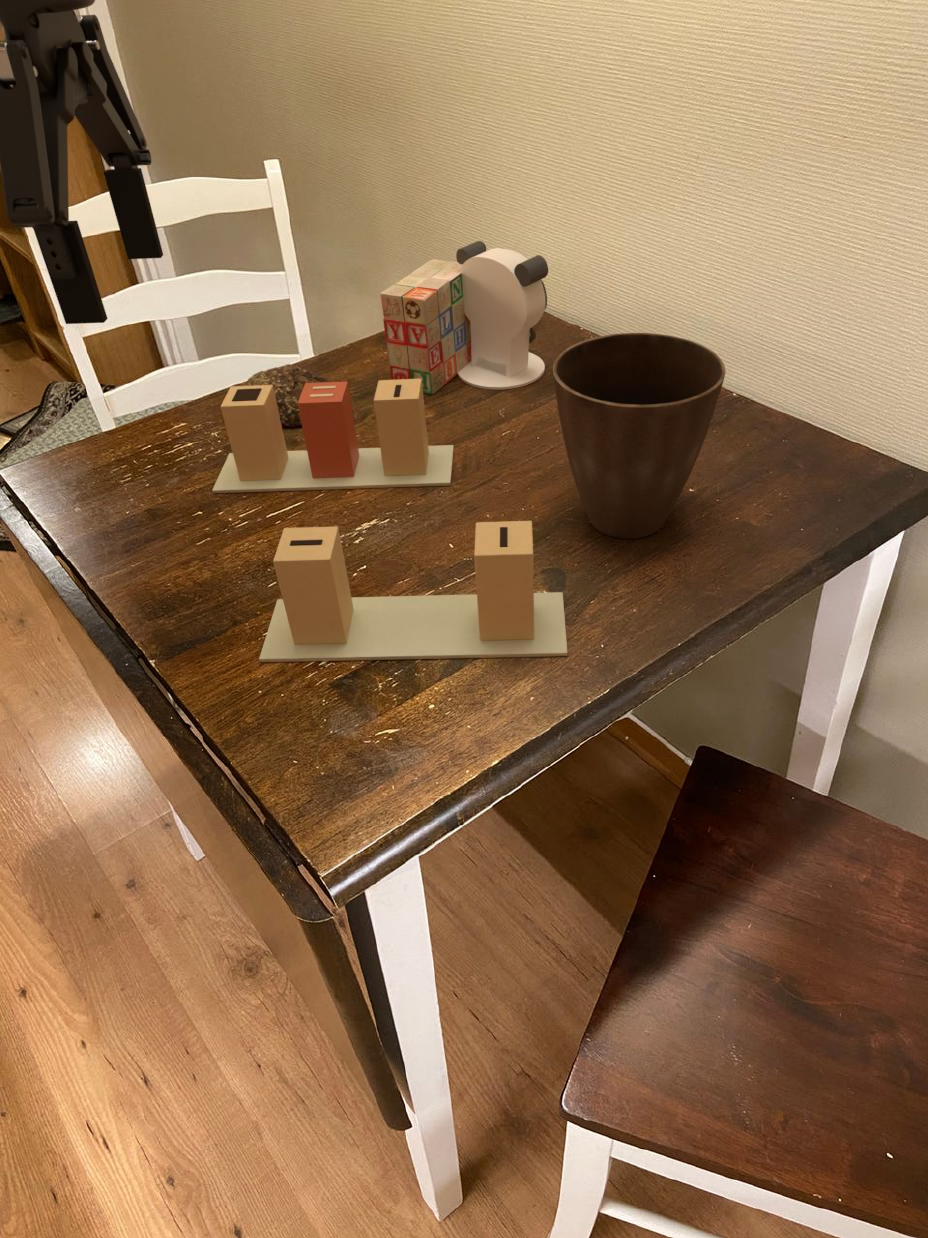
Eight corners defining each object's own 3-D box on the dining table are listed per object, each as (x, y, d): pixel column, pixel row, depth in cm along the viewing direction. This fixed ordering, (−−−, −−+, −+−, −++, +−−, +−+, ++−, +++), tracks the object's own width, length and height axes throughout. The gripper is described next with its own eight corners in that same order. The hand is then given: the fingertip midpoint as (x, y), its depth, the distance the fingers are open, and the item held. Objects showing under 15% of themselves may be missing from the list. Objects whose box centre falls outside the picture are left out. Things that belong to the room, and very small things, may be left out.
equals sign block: (312, 478, 96) (297, 402, 90) (319, 456, 100) (304, 382, 94) (354, 477, 96) (341, 400, 90) (359, 455, 99) (347, 380, 94)
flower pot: (586, 466, 96) (590, 322, 85) (722, 495, 90) (745, 344, 79) (527, 540, 86) (524, 387, 75) (676, 578, 80) (695, 418, 70)
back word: (212, 493, 96) (189, 414, 90) (230, 455, 102) (209, 379, 96) (450, 485, 94) (443, 404, 88) (453, 447, 100) (447, 369, 94)
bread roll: (220, 414, 110) (210, 376, 107) (289, 375, 117) (282, 339, 114) (294, 439, 104) (285, 400, 101) (362, 396, 111) (356, 359, 108)
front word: (259, 662, 75) (234, 574, 69) (278, 602, 81) (256, 516, 75) (567, 656, 73) (569, 565, 67) (562, 595, 79) (564, 506, 73)
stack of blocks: (471, 324, 127) (466, 235, 119) (510, 330, 124) (507, 240, 116) (391, 387, 113) (378, 291, 105) (432, 395, 110) (423, 298, 102)
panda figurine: (566, 366, 115) (568, 247, 105) (510, 399, 108) (506, 276, 99) (496, 344, 121) (492, 230, 111) (439, 374, 115) (430, 256, 105)
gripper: (-18, -62, 43) (112, 352, 57) (138, -80, 62) (208, 233, 76) (-165, -53, 44) (-1, 356, 57) (35, -74, 63) (123, 237, 76)
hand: (118, 287), depth 67 cm, fingers open, 13 cm apart
